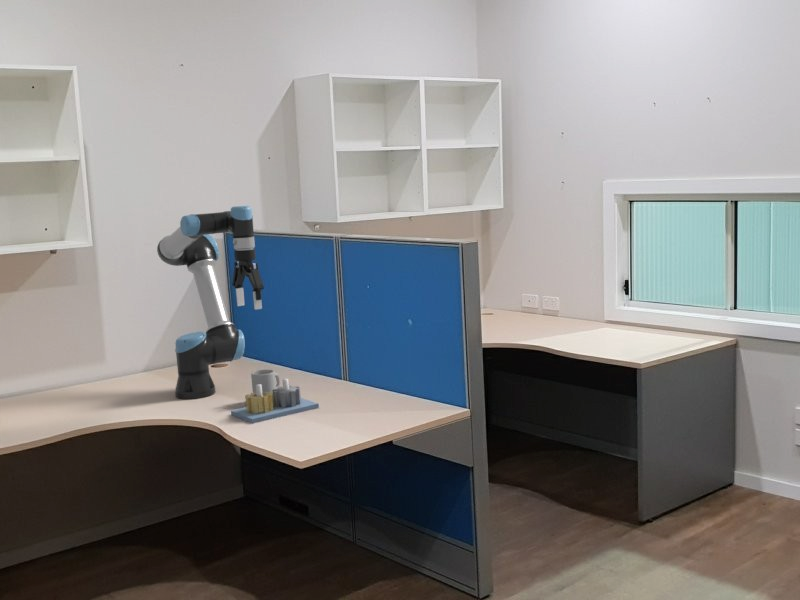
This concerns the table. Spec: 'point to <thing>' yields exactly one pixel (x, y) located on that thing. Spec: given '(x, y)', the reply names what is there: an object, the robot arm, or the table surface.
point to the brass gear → (259, 403)
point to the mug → (265, 380)
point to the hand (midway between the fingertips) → (249, 307)
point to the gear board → (278, 404)
